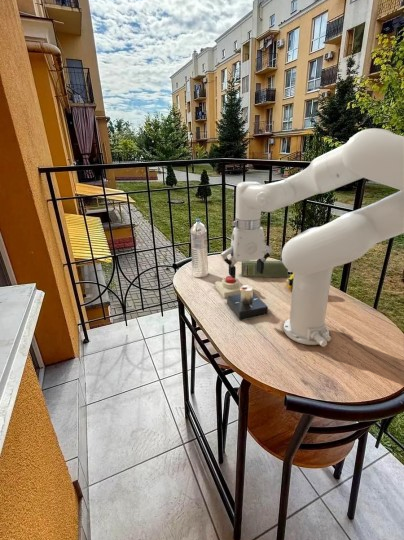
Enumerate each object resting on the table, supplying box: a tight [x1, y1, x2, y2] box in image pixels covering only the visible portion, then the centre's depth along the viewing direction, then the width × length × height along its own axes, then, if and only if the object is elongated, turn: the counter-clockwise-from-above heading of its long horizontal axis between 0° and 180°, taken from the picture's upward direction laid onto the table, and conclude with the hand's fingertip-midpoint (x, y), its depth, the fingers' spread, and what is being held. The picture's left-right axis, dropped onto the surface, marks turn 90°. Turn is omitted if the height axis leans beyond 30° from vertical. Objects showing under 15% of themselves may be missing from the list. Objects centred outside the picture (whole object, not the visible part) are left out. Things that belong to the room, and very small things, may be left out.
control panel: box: [226, 291, 269, 321], centre depth 95 cm, size 11×10×3 cm
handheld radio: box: [240, 260, 293, 278], centre depth 119 cm, size 7×3×25 cm
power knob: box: [241, 284, 254, 304], centre depth 94 cm, size 4×4×5 cm
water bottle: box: [189, 218, 209, 278], centre depth 119 cm, size 7×7×25 cm
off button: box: [225, 275, 236, 283], centre depth 107 cm, size 4×4×2 cm
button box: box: [214, 277, 244, 299], centre depth 108 cm, size 10×9×4 cm
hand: (246, 274), depth 92 cm, fingers open, 9 cm apart
